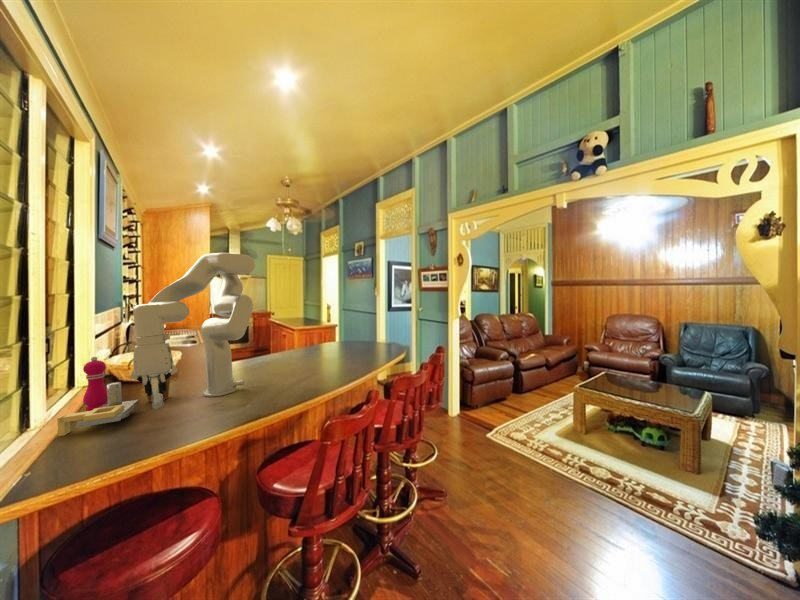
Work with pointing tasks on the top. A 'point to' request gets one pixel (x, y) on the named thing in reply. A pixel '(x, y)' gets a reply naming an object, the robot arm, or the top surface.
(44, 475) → the top surface
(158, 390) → the steel pin
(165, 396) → the disposable coffee cup
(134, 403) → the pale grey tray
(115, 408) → the bracket
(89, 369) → the pepper mill
